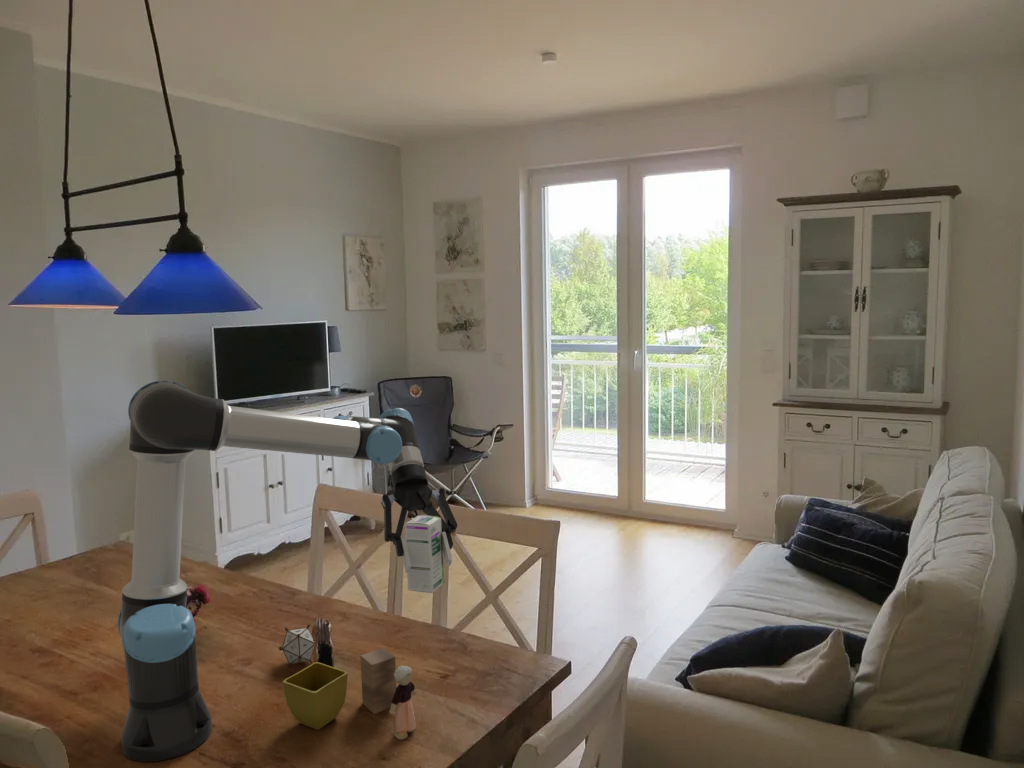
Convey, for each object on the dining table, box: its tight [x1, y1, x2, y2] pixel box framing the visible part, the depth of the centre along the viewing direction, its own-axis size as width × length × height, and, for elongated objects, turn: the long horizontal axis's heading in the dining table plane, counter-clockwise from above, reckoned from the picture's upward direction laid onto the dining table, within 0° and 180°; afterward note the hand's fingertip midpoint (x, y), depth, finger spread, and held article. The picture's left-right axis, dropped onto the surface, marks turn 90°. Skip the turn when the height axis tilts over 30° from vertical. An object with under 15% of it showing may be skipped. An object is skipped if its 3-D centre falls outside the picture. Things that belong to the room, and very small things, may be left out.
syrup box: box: [404, 514, 445, 594], centre depth 158 cm, size 6×6×14 cm
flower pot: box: [281, 661, 349, 730], centre depth 145 cm, size 9×9×9 cm
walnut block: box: [359, 647, 397, 715], centre depth 151 cm, size 5×5×10 cm
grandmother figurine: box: [388, 665, 418, 740], centre depth 141 cm, size 8×4×13 cm, turn 164°
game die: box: [278, 623, 315, 668], centre depth 169 cm, size 9×8×10 cm
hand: (429, 566), depth 155 cm, fingers closed on syrup box, 8 cm apart
